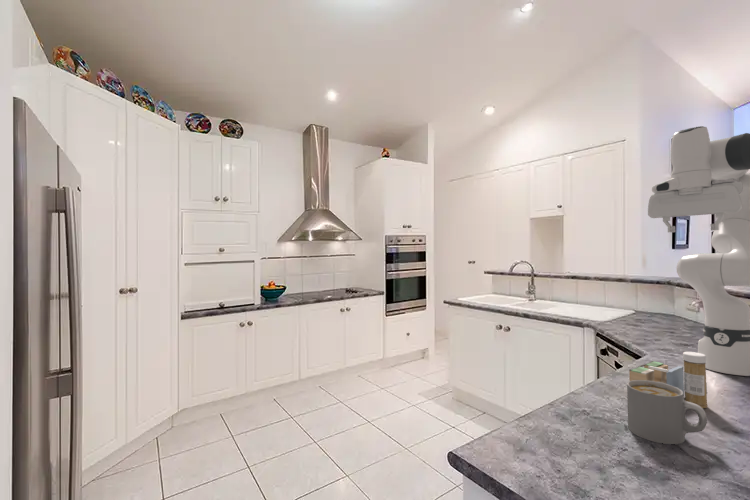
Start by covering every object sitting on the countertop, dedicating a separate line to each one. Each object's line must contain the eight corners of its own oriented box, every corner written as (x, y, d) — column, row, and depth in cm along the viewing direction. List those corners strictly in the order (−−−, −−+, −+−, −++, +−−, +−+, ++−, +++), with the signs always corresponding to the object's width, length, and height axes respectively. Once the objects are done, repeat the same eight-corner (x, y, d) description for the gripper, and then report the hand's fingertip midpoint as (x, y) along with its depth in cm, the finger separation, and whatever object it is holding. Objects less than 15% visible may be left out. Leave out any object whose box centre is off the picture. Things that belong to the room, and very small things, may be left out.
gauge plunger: (663, 390, 103) (662, 360, 103) (684, 395, 99) (683, 364, 99) (649, 397, 98) (648, 366, 98) (670, 403, 94) (669, 370, 94)
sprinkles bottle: (710, 406, 93) (708, 353, 93) (704, 410, 90) (702, 356, 90) (687, 400, 97) (686, 350, 97) (681, 404, 94) (679, 352, 94)
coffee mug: (620, 430, 81) (619, 386, 81) (638, 418, 87) (637, 376, 87) (698, 457, 70) (696, 406, 70) (712, 441, 76) (711, 394, 76)
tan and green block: (652, 385, 108) (651, 361, 108) (668, 389, 104) (668, 364, 104) (629, 395, 100) (629, 369, 100) (646, 400, 97) (645, 373, 97)
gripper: (743, 178, 98) (745, 229, 98) (651, 189, 114) (652, 233, 113) (740, 175, 94) (742, 228, 94) (645, 187, 110) (646, 233, 109)
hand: (692, 231), depth 104 cm, fingers open, 8 cm apart
